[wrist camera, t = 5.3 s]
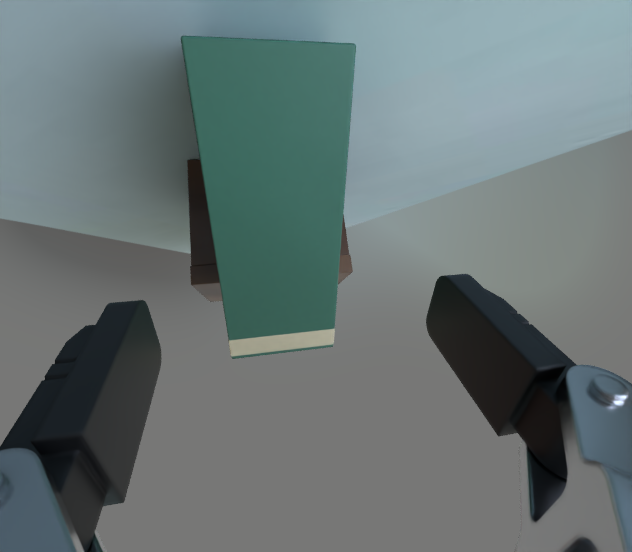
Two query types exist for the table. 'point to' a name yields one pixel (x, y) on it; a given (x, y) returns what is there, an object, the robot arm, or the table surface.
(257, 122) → the green block
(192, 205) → the walnut box
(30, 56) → the table surface
